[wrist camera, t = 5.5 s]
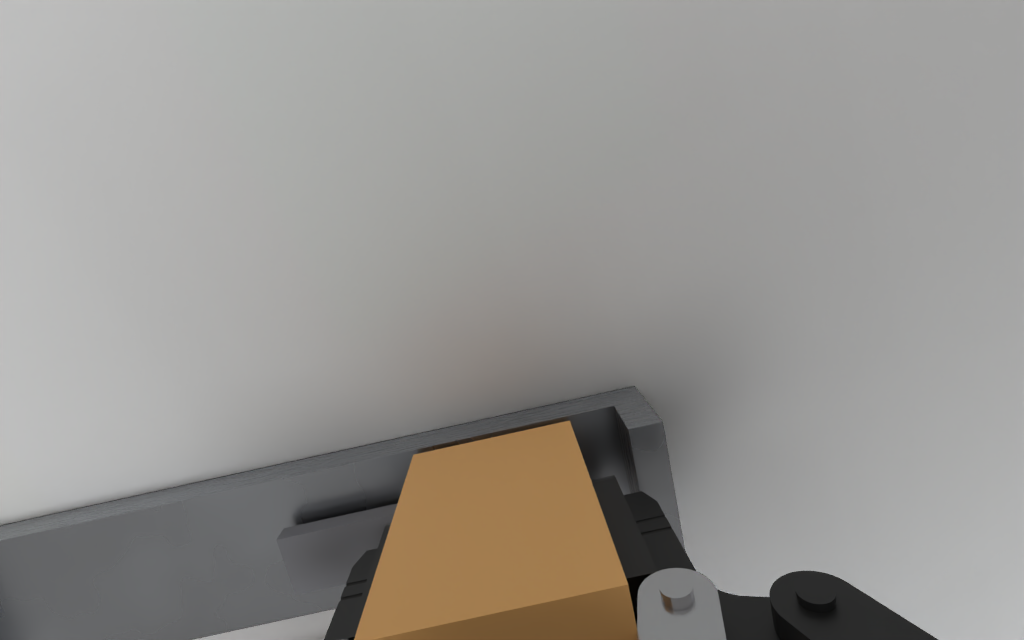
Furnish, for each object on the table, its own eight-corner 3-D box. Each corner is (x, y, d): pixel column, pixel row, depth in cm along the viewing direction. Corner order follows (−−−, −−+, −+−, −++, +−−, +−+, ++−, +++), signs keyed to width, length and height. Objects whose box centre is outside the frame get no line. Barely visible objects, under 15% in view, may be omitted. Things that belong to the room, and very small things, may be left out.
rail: (634, 386, 15) (662, 422, 12) (658, 515, 16) (688, 573, 13) (-74, 542, 15) (-185, 607, 13) (-14, 661, 16) (-107, 744, 13)
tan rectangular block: (569, 420, 14) (628, 584, 8) (598, 558, 14) (671, 802, 9) (269, 486, 14) (100, 698, 8) (315, 620, 14) (194, 903, 9)
